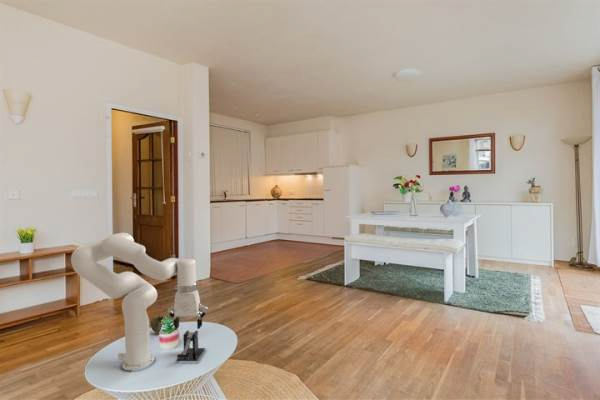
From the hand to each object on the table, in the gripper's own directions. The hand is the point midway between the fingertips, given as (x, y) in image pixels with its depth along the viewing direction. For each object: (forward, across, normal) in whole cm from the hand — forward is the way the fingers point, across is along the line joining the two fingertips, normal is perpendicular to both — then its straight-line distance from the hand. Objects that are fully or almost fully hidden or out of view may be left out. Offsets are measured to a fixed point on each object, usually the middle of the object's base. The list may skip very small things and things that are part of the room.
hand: (188, 327), depth 145 cm
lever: (+10, -1, +2) cm, 10 cm away
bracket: (+16, -1, +6) cm, 17 cm away
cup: (+16, -27, +30) cm, 44 cm away
